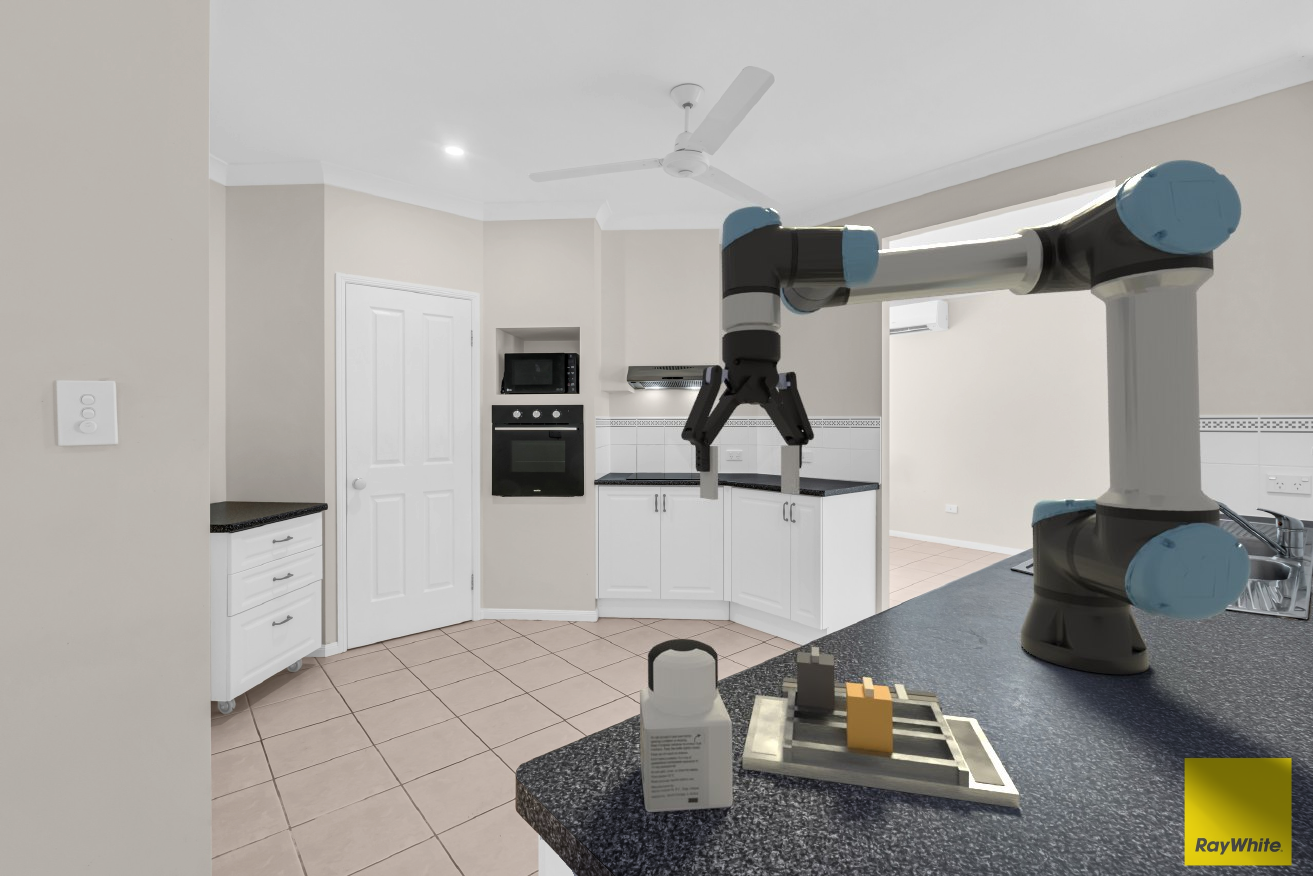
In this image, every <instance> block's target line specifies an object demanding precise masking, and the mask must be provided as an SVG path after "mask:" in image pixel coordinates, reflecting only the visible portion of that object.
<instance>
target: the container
mask: <svg viewBox="0 0 1313 876" xmlns="http://www.w3.org/2000/svg"><path fill="white" fill-rule="evenodd" d="M718 658H719V656H718V653H717V651H716V650H715V648H713V647H712V646H711V645H709V644H707V643H706V642H702V641H699V640H697V639H696V640H695V639H689V638H678V639H677V638H676V639H670V640H666V641H662V642H660V643H657V644H656V645H654V646H652V648H651V649H650V650H649V652H648V653H647V683H648V684H647V686H648V687H643V688H641V689H640V691H639V722H640V723H639V724H640V725H639V729H640V730H639V733H640V736H639V739H640V741H639V742H640V745H639V747H640V770H641V778H642V789H643V790H642V791H643V798H644V800H643V801H644V808H645V811H647V812H648V813H658V812H659V813H660V812H672V811H691V810H707V809H724V808H730V807H732V806H733V722H732V720H731V719H732V718H731V717H730V715H729V713H728V710H727V708H726V706H725V704H724V702H723V699H722V697H721V694H720V692H719V668H718V667H719V666H718V665H719V664H718V663H719V662H718V661H719V660H718Z"/></svg>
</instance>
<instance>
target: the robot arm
mask: <svg viewBox="0 0 1313 876" xmlns="http://www.w3.org/2000/svg"><path fill="white" fill-rule="evenodd" d="M1241 216H1242V202H1241V199H1240V196H1239V193H1238V191H1237V189H1236V187H1235V185H1234V184H1233V182H1232V181H1231V180H1230V179H1229V178H1228V177H1227V176H1226V175H1225V174H1223V173H1219V172H1217V170H1216V169H1215V168H1214V167H1213V166H1211V165H1208V164H1207V163H1205V162H1200V161H1197V160H1196V161H1195V160H1190V159H1175V160H1169V161H1166V162H1162V163H1158V164H1157V165H1154V166H1152V167H1150V168H1148V169H1147V170H1145V171H1142V172H1139V173H1136V174H1134V175H1131V176H1130V177H1129V178H1127V179H1126V180H1125V181H1123V182H1122V183H1121V184H1120V185H1119V186H1117V187H1115V188H1114V189H1111V190H1110V191H1109V192H1106V193H1105V194H1103V195H1101V196H1100V197H1098V198H1097V199H1094V200H1092V201H1091V202H1089V203H1088V204H1086V205H1084V206H1083V207H1081V208H1079V209H1077V210H1075V211H1074V212H1072V213H1070V214H1068V215H1066V216H1064V217H1061V218H1060V219H1057V220H1055V221H1052V222H1049V223H1046V224H1044V225H1043V224H1042V225H1038V226H1031V227H1023V228H1019V229H1018V230H1016V231H1015V232H1014V233H1013V234H1012V235H1011V236H1005V237H996V238H986V239H985V238H984V239H978V240H967V241H957V242H956V241H955V242H948V243H937V244H930V245H921V246H920V245H919V246H912V247H910V246H909V247H900V248H893V249H892V248H891V249H882V250H880V241H879V237H878V234H877V232H876V231H875V229H874V228H872V227H871V226H864V225H863V226H861V225H849V224H844V225H827V226H797V227H795V226H783V222H782V221H781V216H780V214H779V212H778V211H777V210H775V209H773V208H771V207H763V206H760V205H755V206H752V205H751V206H747V207H741V208H738V209H736V210H734V211H732V212H731V213H729V214H728V215H727V216H726V218H725V219H724V221H723V223H722V237H721V238H722V239H721V240H722V241H721V288H722V290H721V293H722V295H721V296H722V303H721V304H722V305H721V308H722V310H721V312H722V313H721V314H722V315H721V316H722V317H721V318H722V319H721V321H722V324H721V325H722V326H721V327H722V331H723V332H725V334H723V336H722V338H721V340H722V341H721V355H722V356H721V359H722V362H723V363H724V368H722V366H720V365H718V364H717V365H714V366H708V367H707V366H706V367H705V368H704V369H703V372H702V380H701V386H700V388H699V391H698V393H697V396H696V398H695V400H694V402H693V405H692V408H691V410H690V411H689V412H690V413H689V415H688V417H687V418H686V419H687V420H686V422H685V424H684V427H683V429H682V432H681V434H680V436H681V439H682V441H683V440H684V441H687V442H689V443H690V445H692V446H695V469H696V472H699V474H700V475H699V477H700V478H699V479H700V480H699V481H700V482H699V488H700V489H699V495H700V496H699V498H701V499H705V500H706V499H707V500H712V501H713V500H716V501H717V500H719V447H718V445H712V444H713V442H714V441H715V439H716V438H717V437H718V435H719V434H720V432H721V431H722V429H723V428H724V426H725V425H726V423H727V422H728V420H729V419H730V418H731V417H732V415H733V413H734V411H735V410H736V409H737V408H738V406H740V405H753V406H756V405H759V407H761V408H762V409H764V410H765V412H766V413H767V415H768V417H769V419H771V422H772V423H773V425H774V426H775V428H776V429H777V431H778V433H779V434H780V436H781V437H782V439H783V440H784V442H785V443H786V444H785V445H782V444H781V445H780V474H781V475H780V477H781V478H780V487H781V488H780V489H781V490H780V492H781V494H790V495H791V494H792V495H799V494H800V469H802V466H803V446H807V445H808V444H809V441H812V440H814V438H815V434H814V430H813V429H812V428H813V427H812V425H811V422H810V419H809V417H808V414H807V411H806V409H805V406H804V403H803V400H802V398H801V395H800V392H799V388H798V381H797V373H796V372H795V371H789V372H787V371H786V372H781V373H779V371H778V368H777V366H778V363H779V362H780V360H781V357H782V355H781V353H782V349H781V348H782V347H781V344H782V343H781V342H782V341H781V340H782V339H781V338H782V337H781V334H780V333H779V332H778V331H779V330H780V329H781V326H782V325H781V323H782V321H781V320H782V319H781V313H782V312H781V302H782V305H783V306H784V307H785V308H786V309H787V310H788V311H789V312H791V313H793V314H796V315H803V316H804V315H809V314H812V313H813V314H814V313H815V312H818V311H820V309H824V308H825V309H826V308H833V307H834V308H835V307H841V306H849V305H862V304H871V303H880V302H881V303H882V302H892V301H901V300H902V301H903V300H913V299H923V298H931V297H932V298H934V297H943V296H944V297H945V296H953V295H954V296H956V295H965V294H975V293H985V292H986V293H987V292H996V291H1004V290H1008V291H1010V292H1011V293H1012V294H1013V295H1016V296H1026V295H1027V296H1028V295H1038V294H1052V293H1067V292H1069V293H1070V292H1079V291H1080V292H1082V291H1083V292H1084V291H1089V290H1090V294H1092V295H1093V296H1094V297H1096V298H1097V299H1099V300H1101V301H1102V302H1103V303H1104V305H1105V327H1106V331H1105V332H1106V369H1107V375H1106V376H1107V407H1108V408H1107V411H1108V412H1107V413H1108V419H1107V420H1108V454H1109V455H1108V456H1109V459H1108V461H1109V487H1108V489H1107V490H1106V491H1105V492H1104V493H1103V494H1101V495H1100V496H1099V497H1098V498H1092V499H1091V498H1089V499H1088V498H1084V499H1083V498H1082V499H1081V498H1079V499H1047V500H1045V499H1044V500H1041V501H1038V502H1037V503H1036V504H1035V505H1034V507H1033V511H1032V519H1031V529H1032V561H1033V562H1032V563H1033V566H1032V567H1033V573H1032V574H1033V598H1032V601H1031V603H1030V605H1029V607H1028V611H1027V613H1026V616H1025V619H1024V621H1023V624H1022V626H1021V629H1020V646H1021V648H1022V647H1023V648H1022V649H1023V650H1024V649H1025V650H1026V651H1027V653H1028V652H1029V653H1028V654H1030V655H1031V654H1032V655H1031V656H1033V655H1034V657H1035V656H1036V658H1037V659H1040V660H1043V661H1045V662H1048V663H1051V664H1053V665H1058V666H1061V667H1065V668H1069V669H1073V670H1077V671H1083V672H1090V673H1097V674H1098V673H1099V674H1105V675H1106V674H1107V675H1108V674H1109V675H1133V674H1141V673H1143V672H1145V671H1147V670H1148V669H1149V666H1150V665H1149V650H1148V647H1147V644H1146V642H1145V639H1144V637H1143V635H1142V632H1141V630H1140V626H1139V624H1138V622H1137V620H1136V617H1135V615H1134V612H1133V609H1132V607H1133V606H1134V607H1135V608H1138V609H1139V610H1141V611H1143V612H1145V613H1148V614H1151V615H1155V616H1163V617H1166V618H1170V619H1172V620H1177V621H1187V622H1188V621H1190V622H1191V621H1193V622H1194V621H1201V620H1202V621H1203V620H1206V619H1209V618H1213V617H1216V616H1218V615H1220V614H1222V613H1223V612H1225V611H1226V609H1227V608H1228V607H1229V605H1233V604H1235V603H1236V602H1237V601H1238V600H1239V599H1240V598H1241V596H1242V595H1243V593H1244V592H1245V590H1246V588H1247V586H1248V584H1249V579H1250V577H1251V561H1250V556H1249V553H1248V550H1247V549H1246V547H1245V545H1244V544H1243V543H1241V542H1239V541H1238V538H1237V536H1235V535H1234V534H1233V533H1232V532H1229V531H1228V530H1226V529H1224V528H1223V527H1221V515H1220V514H1221V512H1220V510H1221V509H1220V505H1219V503H1217V502H1216V501H1214V500H1213V499H1212V498H1211V497H1209V496H1208V495H1207V494H1205V493H1204V491H1203V490H1202V465H1201V464H1202V463H1201V462H1202V461H1201V430H1200V429H1201V428H1200V427H1201V426H1200V424H1201V422H1200V389H1199V388H1200V383H1199V347H1198V346H1199V344H1198V339H1199V338H1198V308H1197V307H1198V305H1197V304H1198V303H1197V298H1198V297H1197V292H1198V290H1199V289H1200V288H1201V287H1202V286H1203V285H1204V284H1205V283H1206V282H1208V281H1209V280H1210V279H1211V278H1212V277H1213V276H1214V269H1215V268H1214V250H1217V249H1218V248H1219V247H1220V246H1222V245H1223V244H1224V243H1226V242H1228V240H1229V239H1230V236H1231V234H1233V233H1234V232H1236V230H1237V228H1238V227H1239V224H1240V222H1241V221H1240V220H1241V218H1242V217H1241ZM723 383H724V384H725V388H726V389H724V391H723V393H722V394H721V395H720V397H719V399H718V403H717V404H716V405H715V403H716V402H715V401H716V400H717V397H718V395H719V392H720V389H721V387H722V384H723ZM714 405H715V407H714V408H713V406H714ZM712 409H713V410H712ZM1025 650H1024V651H1025ZM1026 651H1025V652H1026Z"/></svg>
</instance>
